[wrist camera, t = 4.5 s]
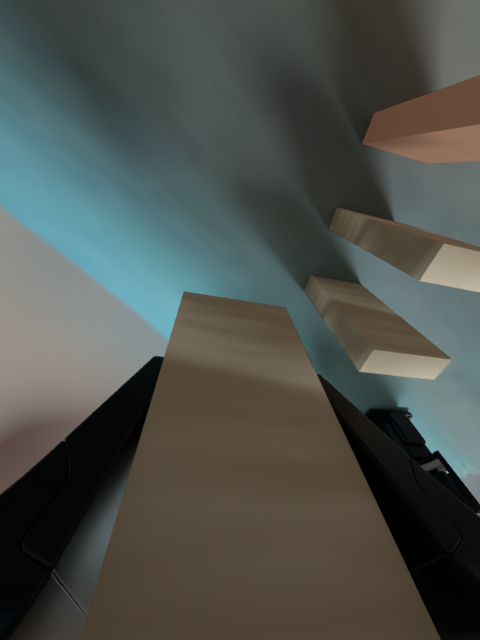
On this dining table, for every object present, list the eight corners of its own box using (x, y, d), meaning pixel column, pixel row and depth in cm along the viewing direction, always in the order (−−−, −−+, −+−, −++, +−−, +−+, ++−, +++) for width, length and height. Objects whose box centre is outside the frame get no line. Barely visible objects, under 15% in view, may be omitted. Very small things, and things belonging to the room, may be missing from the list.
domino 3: (383, 241, 19) (509, 298, 11) (328, 229, 18) (419, 280, 10) (394, 221, 18) (539, 265, 10) (337, 207, 18) (444, 243, 9)
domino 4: (352, 299, 22) (433, 379, 14) (303, 291, 21) (359, 371, 13) (361, 284, 21) (452, 359, 13) (310, 275, 20) (373, 349, 12)
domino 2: (424, 162, 16) (639, 157, 8) (361, 144, 16) (528, 116, 7) (439, 134, 16) (696, 95, 7) (374, 112, 15) (578, 40, 6)
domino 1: (276, 333, 13) (388, 664, 4) (181, 320, 12) (80, 705, 3) (285, 307, 12) (450, 658, 3) (184, 291, 11) (59, 709, 2)
